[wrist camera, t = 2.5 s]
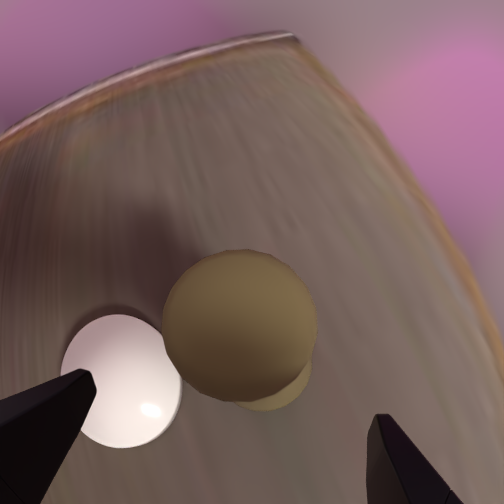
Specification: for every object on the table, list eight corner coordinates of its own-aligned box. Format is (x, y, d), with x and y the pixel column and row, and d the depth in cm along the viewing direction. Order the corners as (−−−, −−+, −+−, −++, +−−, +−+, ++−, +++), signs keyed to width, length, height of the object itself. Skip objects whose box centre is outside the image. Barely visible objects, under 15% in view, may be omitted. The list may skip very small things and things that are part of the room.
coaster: (120, 471, 16) (113, 473, 15) (50, 374, 20) (42, 372, 19) (211, 385, 19) (208, 383, 18) (126, 293, 22) (119, 288, 21)
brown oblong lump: (207, 324, 20) (133, 240, 11) (301, 307, 20) (309, 205, 11) (220, 417, 18) (140, 424, 8) (320, 401, 17) (358, 393, 8)
